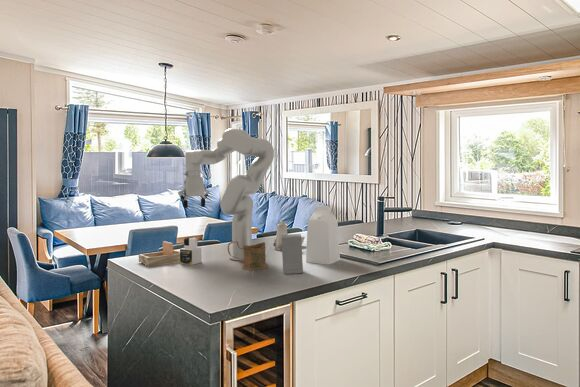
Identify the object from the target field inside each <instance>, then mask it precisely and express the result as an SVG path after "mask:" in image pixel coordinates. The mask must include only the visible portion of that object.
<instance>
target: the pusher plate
mask: <svg viewBox="0 0 580 387" xmlns="http://www.w3.org/2000/svg"><path fill="white" fill-rule="evenodd" d="M173 250H174V243H173V242H170V241H169V242H168V241H166V240H164V241H162V251H163V255H171V254H173Z"/></svg>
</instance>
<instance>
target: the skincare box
mask: <svg viewBox="0 0 580 387" xmlns="http://www.w3.org/2000/svg"><path fill="white" fill-rule="evenodd" d="M302 237H303V236H302V234H301V233H292V234H288V235H282V250H281V253H282V254H281V256H282V272H283V275H293V274H303V273H304V266H303V248H302V247H303V243H302V241H301V238H302Z"/></svg>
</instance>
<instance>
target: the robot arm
mask: <svg viewBox="0 0 580 387" xmlns="http://www.w3.org/2000/svg"><path fill="white" fill-rule="evenodd" d="M234 152H237V153H239V154H241V155H243V156H246V157H255V159H254V160H253V161H252V162H251V163H250V165H249V167H248V169H247V171H246V173H245V174H237V175H235V176H234V177H232V178H231V179H230V181H229V182H228V185H227V186H226V188H225V191H224V193H223V195H222V197H221V198H220V199H221V200H220V204H219V205H220V210H221V212H222V213H223V214H224V215H231V216H232V215H233V216H232V219H231V220H232V221H231V234H232V235H231V239H232V240H231V242H234V241H238V245H239V247H240V248H244V247H243V246H251V245H253V237H252V236H253V235H252V232H253V231H252V230H253V229H252V226H253V224H252V220H253V219H252V218H253V217H252V216H253V209H254V201H253V198H252V197H251V196H250V195H254V194H256V193H257V192H258V191H259V188H260V187H261V185H262V182H263V181H264V179H265V177H266V174H267V172H268V170H269V169H270V167H271V165H272V163H273V161H274V158H275V150H274V147H273V144H272V143H271V142H270V141H269V140H267V139H265V138H260V137H252V136H251V137H250V134H249V133H248V131H247V130H245V129H241V128H232V127H231V128H228V129H226V130H224V132H223V134H222V135H221V138H220V139H218V141H217V143H216V148H214V149H196V150H188V151H187V150H186V151H185V156H184V157H185V172H183V175H184V176H185V177H184V182H183V189H181V190H179V191H177V194H178V196H179V198H181V200H182V202H183V204H182V205H183V208H184V209H188V207H189V203H188V200H187V199H188V198H189V197H200V198H201V199H200V207H202V208H204V207H206V199H207V198H208V196H209V193H210V190H209V189H208V188H206V187H205V182H204V179H203V176H201V175H202V173H201V170H202V169H201V165H216V164H218V163H220V162H222V161H224V160H225V159H226V158H228V157H229V156H228V155H229V154H232V153H234ZM231 244H232V247H231V248H232V254H231V256H234V257H237V258H238V259H239V260H241V261H244V249H240V248H238V246H237V242H235V243H231ZM231 256H230V255H229V257H228V258H229V259H230V260H232V261H239V260H238V259H237V258H234V257H231Z"/></svg>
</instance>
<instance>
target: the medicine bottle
mask: <svg viewBox="0 0 580 387" xmlns="http://www.w3.org/2000/svg"><path fill="white" fill-rule="evenodd" d="M179 251H180V262H179V263H180V265H187V266H188V265H189V266H194V265H196V264H201V263H202V256H203V255H202V247H200V246H198V239H197V237H189V236H188V237H185V238H183V247H182V248H179Z"/></svg>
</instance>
